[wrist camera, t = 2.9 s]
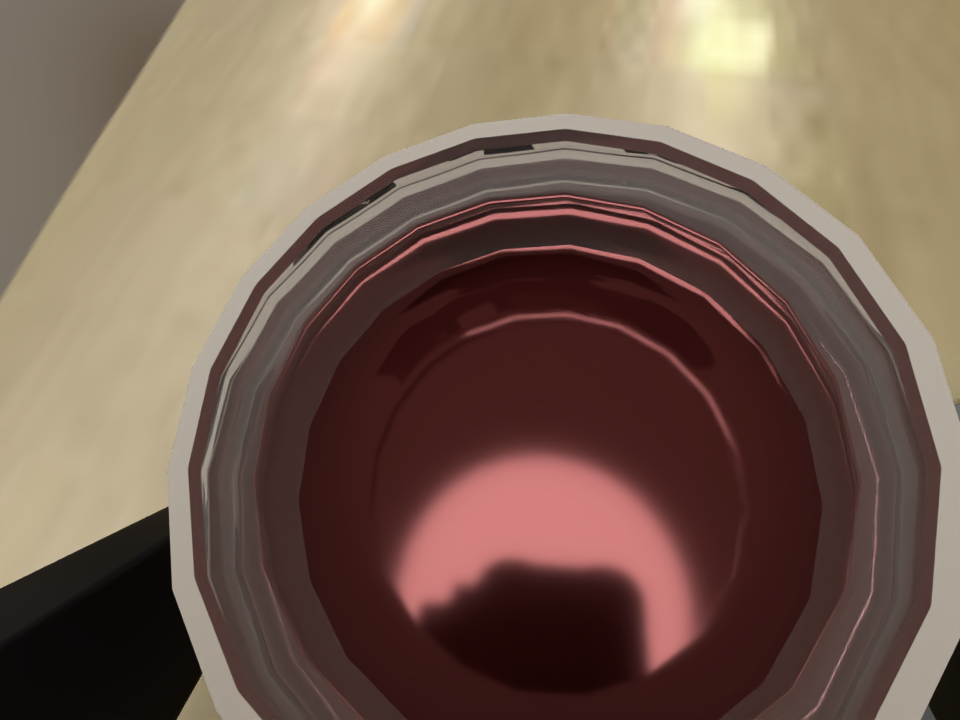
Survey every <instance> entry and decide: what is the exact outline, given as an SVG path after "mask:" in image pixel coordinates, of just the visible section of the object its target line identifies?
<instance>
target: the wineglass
mask: <svg viewBox="0 0 960 720" xmlns="http://www.w3.org/2000/svg"><path fill="white" fill-rule="evenodd" d="M167 478H168V502H169V525H170V548H171V571H172V590H173V593H174V595H175V598H176V601H177V604H178V606H179V609H180V612H181V615H182V618H183V620H184V623H185V626H186V629H187V631H188V634H189V637H190V640H191V643H192V645H193V648H194V651H195V654H196V656H197V659H198V662H199V665H200V667H201V670H202V673H203V676H204V679H205V681H206V684H207V687H208V690H209V692H210V695H211V698H212V701H213V704H214V706H215V709H216V711H217V713H218V714H219V715H220V716H221V718H222V719H223V720H921V718H922V716H923V714H924V712H925V710H926V708H927V706H928V703H929V701H930V699H931V697H932V695H933V693H934V691H935V689H936V687H937V685H938V683H939V681H940V678H941V676H942V674H943V672H944V670H945V668H946V666H947V664H948V662H949V660H950V658H951V656H952V654H953V651H954V649H955V647H956V645H957V643H958V641H959V639H960V421H959V418H958V415H957V412H956V409H955V406H954V402H953V399H952V396H951V393H950V390H949V386H948V383H947V380H946V377H945V374H944V370H943V367H942V364H941V361H940V358H939V354H938V351H937V348H936V345H935V342H934V339H933V338H932V336H931V335H930V333H929V332H928V331H927V329H926V328H925V327H924V325H923V324H922V322H921V321H920V320H919V318H918V317H917V315H916V314H915V313H914V311H913V310H912V309H911V307H910V306H909V304H908V303H907V302H906V300H905V299H904V298H903V296H902V295H901V293H900V292H899V291H898V289H897V288H896V286H895V285H894V284H893V282H892V281H891V280H890V278H889V277H888V275H887V274H886V273H885V271H884V270H883V269H882V267H881V266H880V264H879V263H878V262H877V260H876V259H875V257H874V256H873V255H872V253H871V252H870V251H869V249H868V248H867V246H866V245H865V244H864V242H863V241H862V240H861V238H860V237H859V236H858V235H857V234H855V233H854V232H853V231H851V230H850V229H849V228H847V227H846V226H845V225H843V224H842V223H841V222H840V221H838V220H837V219H836V218H834V217H833V216H832V215H830V214H829V213H828V212H826V211H825V210H824V209H822V208H821V207H820V206H819V205H817V204H816V203H815V202H813V201H812V200H811V199H809V198H808V197H807V196H805V195H804V194H803V193H801V192H800V191H799V190H798V189H796V188H795V187H794V186H792V185H791V184H790V183H788V182H787V181H786V180H784V179H783V178H782V177H780V176H779V175H778V174H777V173H775V172H774V171H773V170H771V169H770V168H769V167H767V166H765V165H763V164H760V163H758V162H755V161H753V160H750V159H748V158H745V157H743V156H740V155H738V154H735V153H733V152H730V151H728V150H725V149H723V148H720V147H718V146H715V145H713V144H710V143H708V142H705V141H703V140H700V139H698V138H695V137H693V136H690V135H688V134H685V133H683V132H680V131H678V130H675V129H673V128H670V127H668V126H661V125H653V124H645V123H638V122H630V121H622V120H614V119H607V118H599V117H591V116H584V115H576V114H559V115H550V116H541V117H532V118H524V119H515V120H506V121H497V122H488V123H479V124H472V125H469V126H466V127H464V128H461V129H458V130H455V131H453V132H450V133H447V134H444V135H442V136H439V137H436V138H433V139H431V140H428V141H425V142H422V143H420V144H417V145H414V146H411V147H409V148H406V149H403V150H400V151H398V152H395V153H392V154H389V155H387V156H384V157H383V158H381V159H380V160H378V161H377V162H375V163H374V164H372V165H370V166H369V167H367V168H366V169H364V170H363V171H361V172H360V173H358V174H357V175H355V176H354V177H352V178H351V179H349V180H348V181H346V182H345V183H343V184H342V185H340V186H339V187H337V188H336V189H334V190H333V191H331V192H330V193H328V194H327V195H325V196H324V197H322V198H321V199H319V200H317V201H316V202H314V203H313V204H311V205H310V206H308V207H307V208H306V209H305V210H304V211H303V212H302V213H301V214H300V215H299V216H298V217H297V218H296V219H295V221H294V222H293V223H292V224H291V225H290V226H289V227H288V228H287V229H286V230H285V231H284V232H283V234H282V235H281V236H280V237H279V238H278V239H277V240H276V241H275V242H274V243H273V244H272V245H271V246H270V248H269V249H268V250H267V251H266V252H265V253H264V254H263V255H262V256H261V257H260V258H259V259H258V260H257V262H256V263H255V264H254V265H253V266H252V267H251V268H250V269H249V270H248V271H247V272H246V273H245V274H244V276H243V277H242V278H241V279H240V281H239V283H238V285H237V286H236V288H235V290H234V292H233V294H232V296H231V297H230V299H229V301H228V303H227V305H226V307H225V308H224V310H223V312H222V314H221V316H220V318H219V319H218V321H217V323H216V325H215V327H214V329H213V330H212V332H211V334H210V336H209V338H208V340H207V341H206V343H205V345H204V347H203V349H202V351H201V352H200V354H199V356H198V358H197V360H196V362H195V363H194V365H193V367H192V371H191V375H190V380H189V384H188V388H187V392H186V396H185V400H184V404H183V409H182V413H181V417H180V421H179V425H178V429H177V433H176V438H175V442H174V446H173V450H172V454H171V458H170V462H169V466H168V471H167Z"/></svg>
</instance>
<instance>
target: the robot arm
mask: <svg viewBox="0 0 960 720" xmlns="http://www.w3.org/2000/svg"><path fill="white" fill-rule="evenodd" d="M202 674H203V673H202V670H201V667H200V665H199V662H198V659H197V656H196V654H195V651H194V648H193V645H192V643H191V640H190V637H189V634H188V631H187V629H186V626H185V623H184V620H183V618H182V615H181V612H180V609H179V606H178V604H177V601H176V598H175V595H174V593H173V590H172V571H171V548H170V525H169V506H168V507H166V508H164V509H162V510H160V511H158V512H156V513H154V514H152V515H150V516H148V517H146V518H144V519H142V520H140V521H138V522H135V523H133V524H131V525H129V526H127V527H125V528H123V529H121V530H119V531H117V532H115V533H113V534H111V535H109V536H107V537H105V538H103V539H101V540H99V541H97V542H95V543H93V544H90V545H88V546H86V547H84V548H82V549H80V550H78V551H76V552H74V553H72V554H70V555H68V556H66V557H64V558H62V559H60V560H58V561H56V562H54V563H52V564H50V565H48V566H45V567H43V568H41V569H39V570H37V571H35V572H33V573H31V574H29V575H27V576H25V577H23V578H21V579H19V580H17V581H15V582H13V583H11V584H9V585H7V586H5V587H3V588H0V720H177V718H178V716H179V714H180V713H181V711H182V709H183V707H184V705H185V704H186V702H187V700H188V698H189V697H190V695H191V693H192V691H193V689H194V688H195V686H196V684H197V682H198V681H199V679H200V677H201V675H202ZM928 706H929V708H930V710H931V712H932V714H933V716H934V717H935V719H936V720H960V639H959V641H958V643H957V645H956V647H955V649H954V651H953V654H952V656H951V658H950V660H949V662H948V664H947V666H946V668H945V670H944V672H943V674H942V676H941V678H940V681H939V683H938V685H937V687H936V689H935V691H934V693H933V695H932V697H931V699H930V701H929V703H928Z"/></svg>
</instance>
